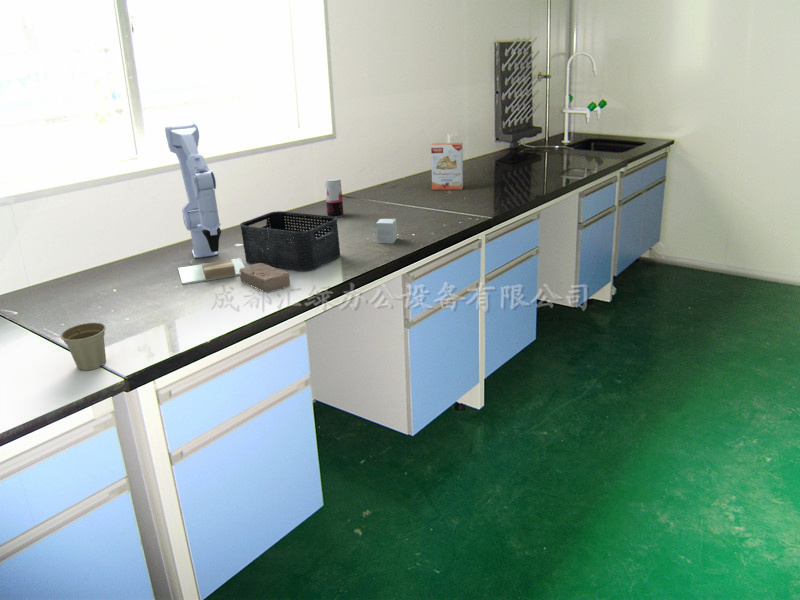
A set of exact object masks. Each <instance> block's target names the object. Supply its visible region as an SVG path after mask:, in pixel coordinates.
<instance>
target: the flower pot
mask: <svg viewBox="0 0 800 600" xmlns="http://www.w3.org/2000/svg"><path fill="white" fill-rule="evenodd" d="M106 329H107V328H106V325H105V324H104V323H100V322H86V323H81V324H77V325H74V326H73V325H72V326H71V327H68V328H66V329H65V330H63V331H62V332H61V333H60V339H61V340H62V341H63V342H64V344H65V345H66V346H67V348H68V350H69V352H70V354H71V356H72V359H73V361H74V363H75V365H76V368H77V370H83V371H91V370H92V371H93V370H95V369H99V368H100V367H101V366H102V365H105V364H106V362H107V357H106V355H107V354H106V348H105V347H106V345H105V334H106V332H105V331H106Z"/></svg>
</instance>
